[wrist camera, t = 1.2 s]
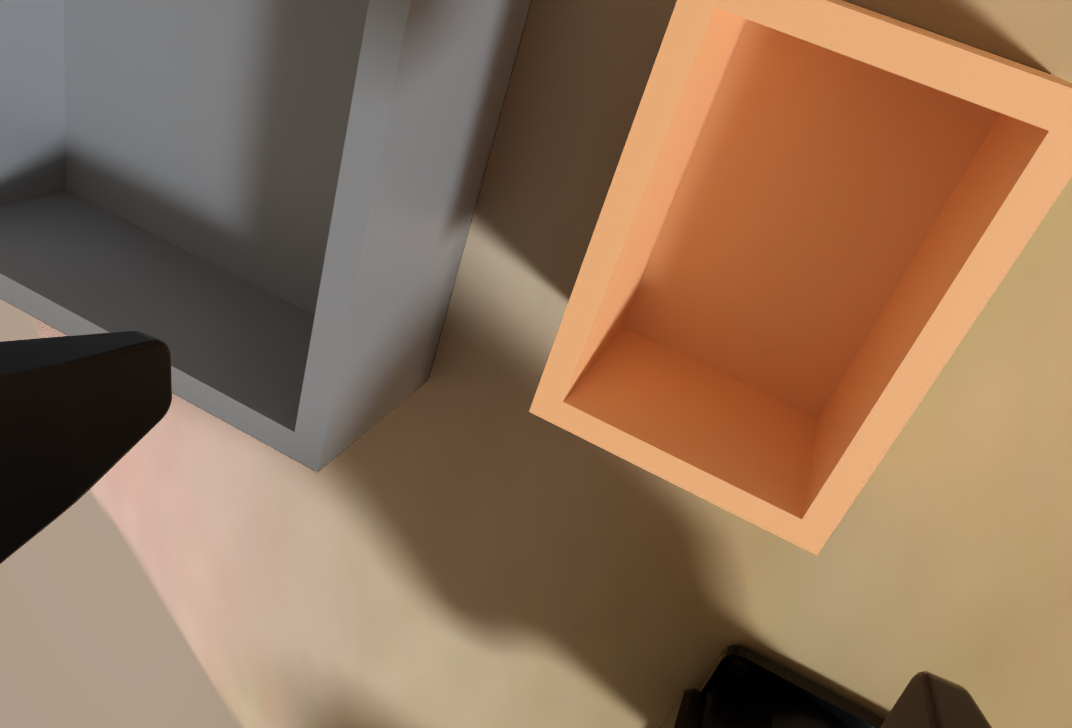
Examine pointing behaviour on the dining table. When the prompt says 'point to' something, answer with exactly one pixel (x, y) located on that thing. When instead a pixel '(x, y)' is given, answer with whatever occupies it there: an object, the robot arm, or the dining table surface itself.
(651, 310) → the orange crate
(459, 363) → the dining table surface
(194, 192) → the grey open box
